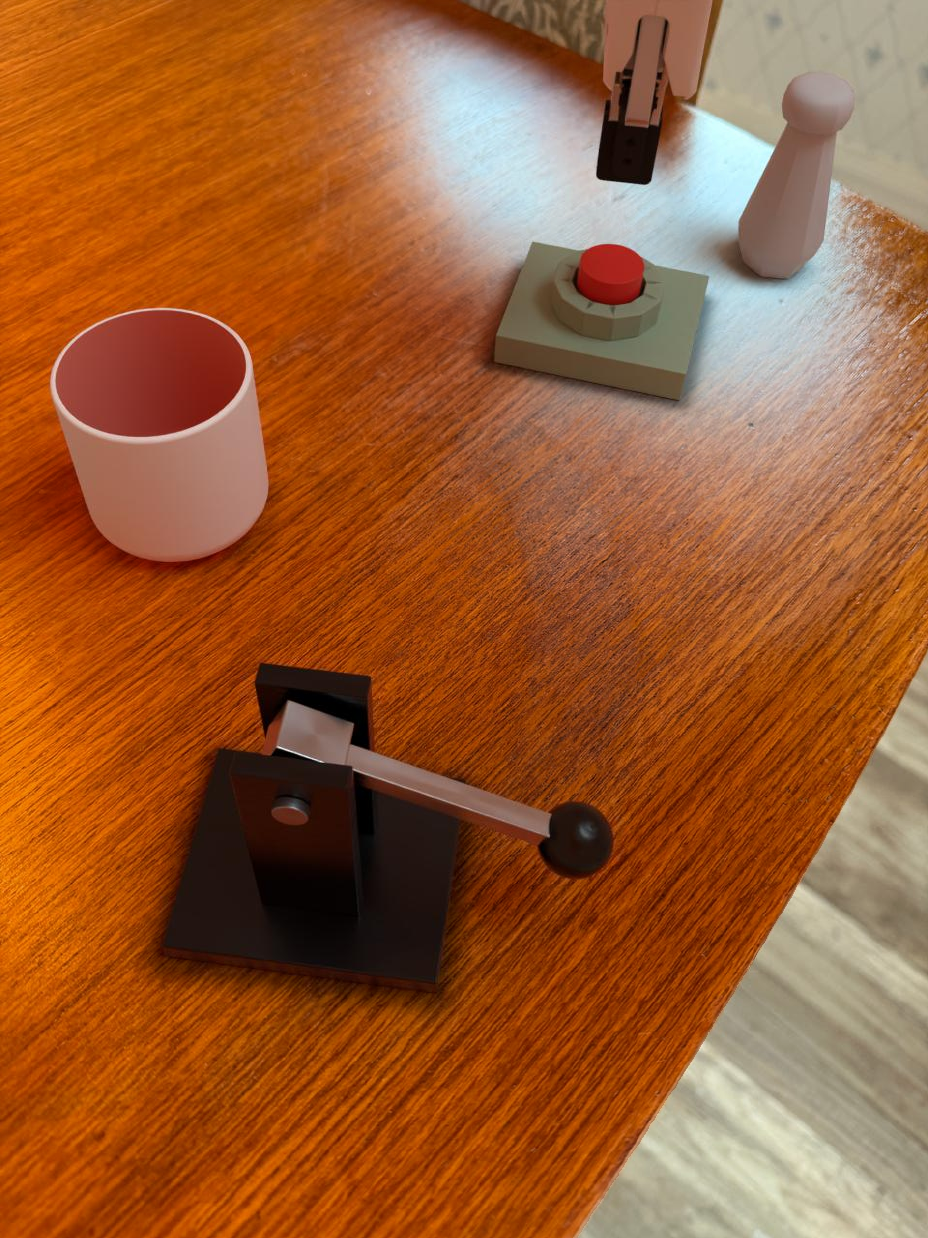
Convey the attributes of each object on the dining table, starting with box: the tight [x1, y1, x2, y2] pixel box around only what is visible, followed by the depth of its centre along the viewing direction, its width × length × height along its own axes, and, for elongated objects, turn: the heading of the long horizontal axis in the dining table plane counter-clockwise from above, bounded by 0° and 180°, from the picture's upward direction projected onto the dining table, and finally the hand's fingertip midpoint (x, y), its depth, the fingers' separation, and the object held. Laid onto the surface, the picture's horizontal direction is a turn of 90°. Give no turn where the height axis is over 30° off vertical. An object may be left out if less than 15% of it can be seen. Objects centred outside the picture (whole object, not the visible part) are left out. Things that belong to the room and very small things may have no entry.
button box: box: [493, 241, 710, 401], centre depth 77 cm, size 12×10×4 cm
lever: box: [261, 700, 615, 880], centre depth 48 cm, size 15×3×3 cm, turn 83°
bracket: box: [161, 662, 467, 993], centre depth 50 cm, size 12×10×13 cm
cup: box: [49, 307, 269, 563], centre depth 64 cm, size 10×10×10 cm
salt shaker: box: [737, 70, 856, 280], centre depth 78 cm, size 6×6×13 cm
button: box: [577, 243, 644, 306], centre depth 75 cm, size 4×4×2 cm
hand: (623, 173), depth 70 cm, fingers closed
